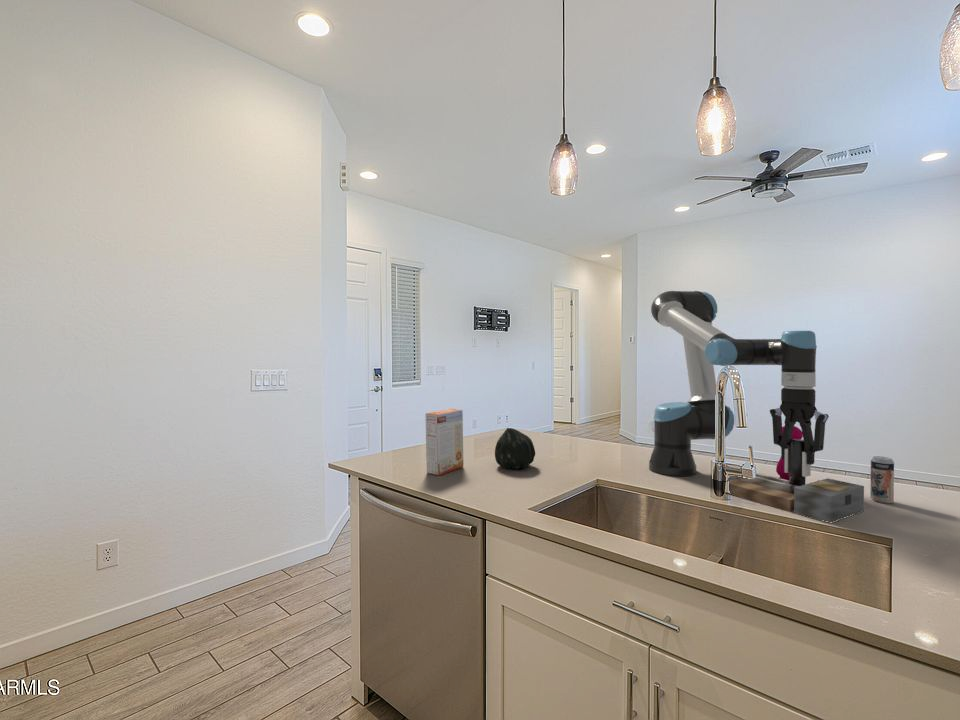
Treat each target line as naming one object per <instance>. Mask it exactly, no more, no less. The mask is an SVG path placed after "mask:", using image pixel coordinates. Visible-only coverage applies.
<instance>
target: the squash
mask: <svg viewBox="0 0 960 720" xmlns="http://www.w3.org/2000/svg"><path fill="white" fill-rule="evenodd" d="M494 457H495V461H496V464H498V465H499V466H500V467H502V468H505V469H507V470H509V469H512V468H513V469H514V470H519V469H526V468H528V467H529V465H530V464H532V463H533V462H534V461H535V457H536V450H535V445H534V442H533V441H532V439H531V438H530V437H529V436H528V435H527V434H525V433H523V432H521V431H519V430H517V429H515V428H512V427H506V429H505V430H504V432H503V433H502V434H501V435H500V437H499V438H498V440H497V441H496V444H495V449H494Z"/></svg>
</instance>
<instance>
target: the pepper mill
mask: <svg viewBox="0 0 960 720" xmlns="http://www.w3.org/2000/svg"><path fill="white" fill-rule="evenodd" d="M784 427H785V425H782V434H783V431H784ZM791 439H800V440H803V434H802V429H801V428H799V427H798V426H796V425H794V429H793V434H792V438H791ZM775 467H776V468H775V472H776V474H778V476H779V477H778V478H780V479H784V480H788V481H789V473H785V472H784V471H785V460H784V459H782V458H781V457H780V458H779V460H778V462H777V464H776V466H775Z"/></svg>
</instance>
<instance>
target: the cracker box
mask: <svg viewBox="0 0 960 720" xmlns="http://www.w3.org/2000/svg"><path fill="white" fill-rule="evenodd" d="M463 411H464V410H463V409H456V408H450V409H449V408H448V409H443V410H439V411H433V412H427V413H425V445H426V446H425V449H426V451H425V452H426V453H425V455H426V458H425V459H426V473H427V475H428V474H429V475H435V476H441V475H445V474H447V473H450V472H452V471H455V470H457V469H460V468H463V467H464V423H463V422H464V421H463V420H464V419H463V417H464V415H463Z"/></svg>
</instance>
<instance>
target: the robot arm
mask: <svg viewBox="0 0 960 720" xmlns="http://www.w3.org/2000/svg"><path fill="white" fill-rule="evenodd" d="M650 314H651V316H652V318H653V319H654V320H655V321H656V322H657V323H658V324H660V325H661V326H663V327H665V328H671V329H672V330H674V331H675V332H676V333H678V334H680V335H681V336H682V339H683V347H684V355H685V361H686V369H687V376H688V377H687V378H688V383H689V384H688V385H689V390H690V391H689V392H690V398H689V399H688V400H687V401H676V402H675V401H674V402H673V401H672V402H671V401H670V402H663V403H661V404H658V405H657V406H656V407H655V408H654V417H653V421H654V423H653V425H654V427H653V428H654V438H653V440H654V443H653V445H654V447H653V450H652V453H651V455H650V459H649V461H648V469H649V470H650V471H651V472H653V473H657V474H662V475H666V476H675V477H686V476H687V477H689V476H693V475H696V474H697V464H696V463H695V458H694V455H693V451H692V449H691V448H692V446H691V445H692V440H716V439H715V395H716V386H717V381H716V375H715V366H721V367H726V366H781V380H780V381H781V386H782V388H781V389H780V390H781V391H780V392H781V393H780V394H781V396H780V400H781V404H780V405H779V407H777V408H773V409H770V410H769V414H770V415H771V419H772V435H773V436H772V437H773V439H772V440H773V444H774V445H775V446H779V447H780V448H781V449H780V450H781V452H780V454H781V455H780V458H782V459H784V460H785V471H784V472H785V473H789V439H791V438H792V434H793V429H794V426H796V424H797V423H799V424H798V425H799V426H800V430H801V431H802V434H803V437H802V440H804V445H805V450H804V452H802V476H803V477H810V476H811V475H812V474H811V473H812V471H811V469H812V467H811V466H812V465H814V464H815V453H816V452H821V451H823V450H824V447H825V446H824V445H825V435H826V434H825V431H826V422H827V421H828V420H829V414H828V413H822V412H820V411H818V409H817V407H816V390H815V389H814V388H815V387H816V385H817V384H816V380H817V379H816V378H817V377H816V376H817V375H816V361H817V360H816V359H817V357H816V355H817V348H818V347H817V340H816V333H815V332H814V331H812V330H786V331H783V332H782V333H781V337H780V338H768V339H767V338H755V339H754V338H751V339H750V338H747V339H745V338H734V337H731V336H730V335H728V334H727V333H725V332H723V331H722V330H720V329H718V328H717V327H715V326H714V325H713V321H714V320H715V319H716V318H717V314H718V304H717V302H716V299H715V298H714V296H713V295H712V294H710V293H709V292H706V291H699V290H694V291H692V290H691V291H690V290H687V291H686V290H682V291H681V290H669V291H668V290H667V291H664V292H662V293H660V294H657V296H656V297H655V298H654V299H653V301H652V303H651V305H650ZM724 405H725V437H724V438H726V437H727V436H729V435H730V434H731V432H732V431H733V429H734V426H735V415H734V413H733V411H732V409H731V408H730V406H727V405H726V404H724ZM782 414H783V415H784V417H785V418H784V426H785V427H784V431H783V434H782V427H783V423H782V421H783V420H782V419H783V418H782ZM813 417H814V420H815V424H814V436H813V430H812V421H811V419H813Z"/></svg>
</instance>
